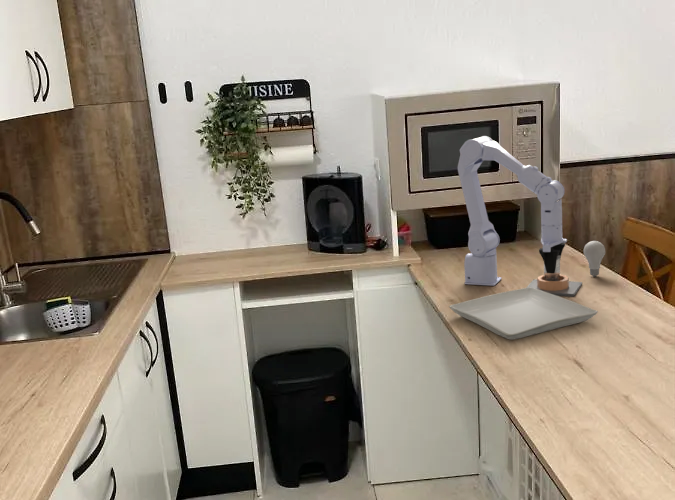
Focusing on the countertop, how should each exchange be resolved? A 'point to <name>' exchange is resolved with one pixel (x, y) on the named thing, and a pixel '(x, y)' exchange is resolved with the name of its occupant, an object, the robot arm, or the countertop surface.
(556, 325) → the square plate
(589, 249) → the lightbulb
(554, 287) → the duct flange
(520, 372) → the countertop surface
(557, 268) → the silver metal cylinder
